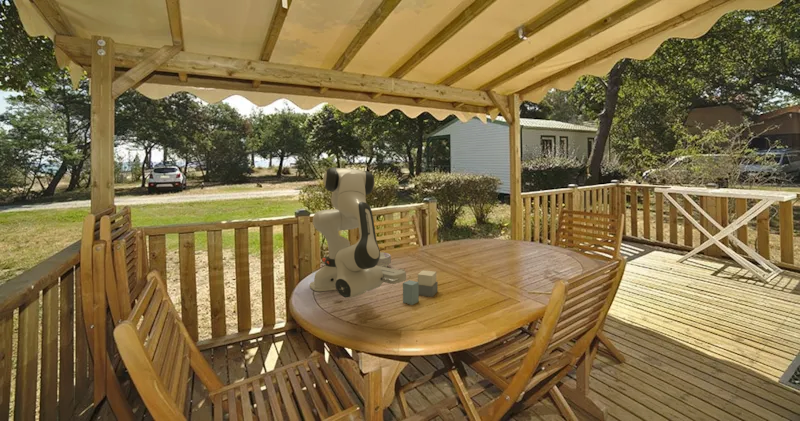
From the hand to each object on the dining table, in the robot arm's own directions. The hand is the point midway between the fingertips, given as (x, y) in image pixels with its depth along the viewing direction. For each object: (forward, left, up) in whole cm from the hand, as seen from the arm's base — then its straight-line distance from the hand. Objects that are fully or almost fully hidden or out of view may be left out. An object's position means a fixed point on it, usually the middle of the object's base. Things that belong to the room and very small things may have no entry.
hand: (394, 268), depth 151 cm
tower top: (+24, +12, -13) cm, 29 cm away
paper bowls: (+21, +61, -18) cm, 67 cm away
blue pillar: (+11, +5, -18) cm, 22 cm away
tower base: (+23, +11, -18) cm, 32 cm away
